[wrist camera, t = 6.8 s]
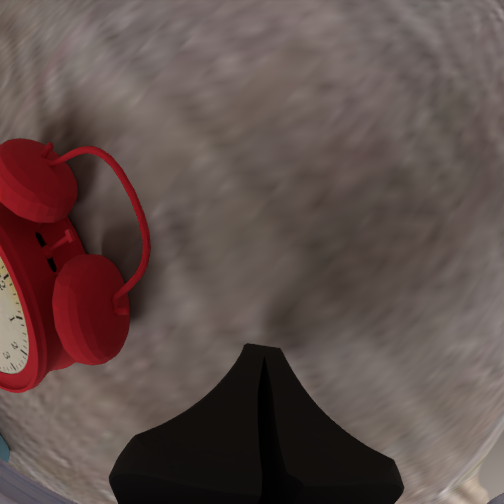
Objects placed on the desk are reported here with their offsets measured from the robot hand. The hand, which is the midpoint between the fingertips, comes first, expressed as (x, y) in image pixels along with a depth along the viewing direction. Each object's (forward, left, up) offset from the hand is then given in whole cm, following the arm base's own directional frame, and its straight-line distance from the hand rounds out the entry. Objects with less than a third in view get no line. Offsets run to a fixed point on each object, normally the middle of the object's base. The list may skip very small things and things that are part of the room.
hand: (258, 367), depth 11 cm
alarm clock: (+11, -1, -2) cm, 11 cm away
